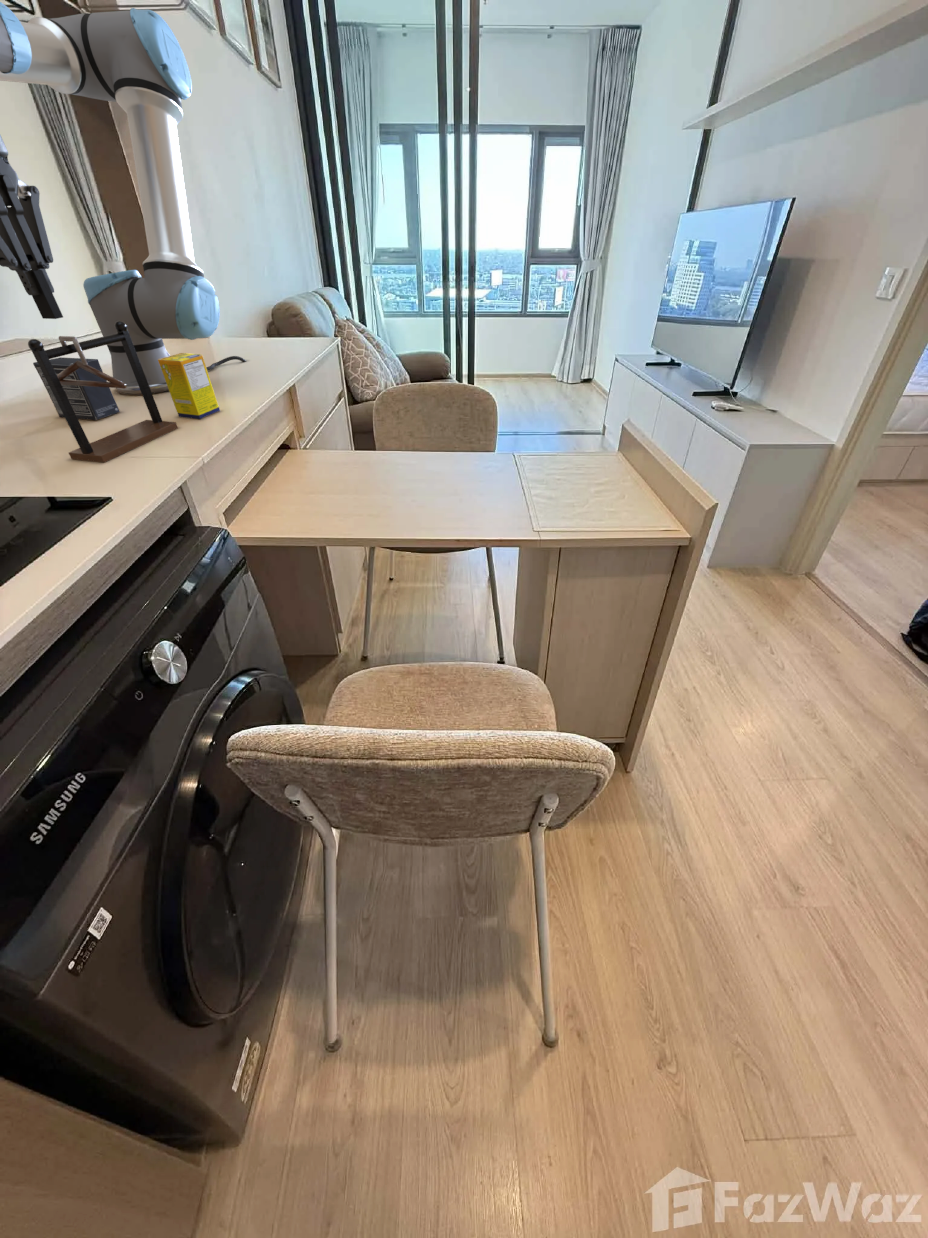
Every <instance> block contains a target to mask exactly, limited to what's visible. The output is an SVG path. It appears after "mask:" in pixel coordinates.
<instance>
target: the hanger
mask: <svg viewBox="0 0 928 1238" xmlns="http://www.w3.org/2000/svg"><path fill="white" fill-rule="evenodd" d="M58 341H59V343H60V345H61V346H66V345H68V344H67V342H72V344H74V346H75V348H76V350H77V352H76V353H77V355H78V358H80V359H81V361H82V362H81V361H76V362H74V363H73V364H72V365H70V366H69V367H68V368H66V369H65V370H63V371H62V372H61V373H59V374H58V375H57V377H58V379H59V381H60V383H61V384H63V385H78V386H94V387H109V388H110V389H111V388H112V389H116V388H123V389H125V388H126V384H125V383H123V382H121V381H119V380H117V379H115V378H113V376H112V375H110V374H108V373H107V374H106V373H105V372H104V371H103V372H101V371H99V370H97V369H95V368H93V367H91V366H89V365H88V363H87V361H86V359H87V358H86V356H85V354H84V352H83V351H82V349H81V347H80V345H79V343H78V342H79V340H78V338H77V336H73V335H72V336H71V335H70V336H68V335H59V336H58ZM79 368H82V369H84V370H86V371H88V372H90V373H92V374H94V375H96V376H98V377H100V378H102V379H104V380H106V381H107V382H98V381H82V380H65V379H64V378H66V377H67V376H69V375H70V374H71V373H73V372H74V371H76V370H77V369H79Z"/></svg>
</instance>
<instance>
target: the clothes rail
mask: <svg viewBox="0 0 928 1238" xmlns="http://www.w3.org/2000/svg"><path fill="white" fill-rule="evenodd" d="M115 328H116V330H117V332H118V333H117V334H113V335H108V336H104V337H103V336H99V337H96V338H92V339H88V340H82V341H78V343H79V345H80V347H81V349H82V352H83V351H88V350H92V349H96V348H99V347H103V346H107V345H108V344H112V343H116V342H120V341H121V342H122V345H123V347H124V350H125V352H126V355H127V357H128V360H129V362H130V365H131V368H132V370H133V373H134V375H135V378H136V380H137V383H138V385H139V388H140V390H141V393H142V398H143V401H144V402H145V406H146V408H147V411H148V413H149V416H150V418H151V419H145V420H142V421H140V422H138V423H135V424H133V425H131V426H128V427H125V428H123V429H121V430H118V431H116V432H114V433H111V434H109V435H106V436H104V437H102V438H100V439H97V440H95V441H92V442H90V441H89V439H88V437H87V435H86V433H85V430H84V428H83V427H82V424H81V422H80V419H78V418H77V416H76V414H75V412H74V410H73V408H72V406H71V404H70V402H69V400H68V397H67V395H66V393H65V391H64V389H63V387H62V385H61V383H60V381H59V379H58V377H57V375H56V373H55V371H54V368H53V366H52V364H51V362H50V359H55V358H60V357H65V356H67V355H71V354H75V353H78V352H77V350H76V348H75V346H74V343H70V344H67V345H66V346H62V345H61V346H58V347H53V348H49V349H45V347H44V345H43V343H42V341H41V340H39V339H36V338H31V339H29V340H28V342H27V346H28V348H29V350H31V352H32V355H33V356H34V359H35V362H37V363H38V365H39V367H40V369H41V371H42V373H43V375H44V377H45V379H46V381H47V383H48V385H49V387H50V389H51V391H52V393H53V395H54V397H55V399H56V401H57V403H58V405H59V407H60V409H61V411H62V413H63V415H64V417H65V421H66V423H67V425H68V427H69V429H70V431H71V433H72V435H73V437H74V439H75V441H76V443H77V445H78V447H77V448H76V449H73V450H71V451H69V452H68V455H69V457H70V459H71V460H74V461H75V460H76V461H83V462H93V463H94V462H96V463H107V462H109V461H110V460H113V459H115V458H117V457H120V456H122V455H124V454H126V453H128V452H130V451H132V450H135V449H137V448H139V447H141V446H143V445H145V444H147V443H149V442H152V441H154V440H156V439H158V438H160V437H163V436H164V435H166V434H169V433H171V432H173V431H175V430H177V429H179V427H178V424H177V422H176V421H168V420H167V421H165V420H163V418H162V416H161V413H160V411H159V408H158V405H157V403H156V400H155V398H154V394H153V393H152V392H151V390H150V387H149V384H148V382H147V379H146V377H145V374H144V371H143V369H142V366H141V363H140V361H139V358H138V356H137V353H136V350H135V348H134V345H133V343H132V340H131V337H130V335H129V332H128V330H127V326H126V324H125V323H124V322H122V321H117V322H116V323H115ZM64 417H63V418H64Z"/></svg>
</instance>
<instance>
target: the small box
mask: <svg viewBox="0 0 928 1238" xmlns="http://www.w3.org/2000/svg"><path fill="white" fill-rule="evenodd" d="M49 360H50V362H51V364H52V366H53V368H54V371H55V373H56V375H58V374H59V373H61V372H62V371H63V370H65V369H66V368H68V367H69V366H70V365H72V364H73V363H74V362H76V361H81V359H80V357H63V356H60V357H56V358H52V359H49ZM86 361H87V363H88V365H89V366H91V367H93V368H95V369H97V370H99V371H101V372H103V373H104V371H103V369H102V367H101V364H100V361H99V359H98V358H86ZM81 362H82V361H81ZM32 364H33V366H34V369H35V370H36V372H37V373H38V376H39V377H40V379H41V382H42V383H43V386H44V387H45V390H46V392H47V394H48V396H49V398H50V400H51V402H52V405H53V407H54V408H55V410H56V413H57V415H58V417H59V418H63V419H64V418H65V417H64V415H63V413H62V411H61V409H60V407H59V405H58V403H57V401H56V399H55V397H54V395H53V393H52V391H51V389H50V387H49V385H48V383H47V381H46V379H45V377H44V375H43V373H42V371H41V369H40V367H39V365H38V363H37V361H35V362H33V363H32ZM64 379H65V380H82V381H98V382H108V381H106V380H104V379H102V378H100V377H98V376H96V375H94V374H92V373H90V372H88V371H86V370H84V369H82V368H79V369H77V370H76V371H74V372H73V373H71V374H70V375H69V376H67V377H66V378H64ZM61 385H62V387H63V389H64V391H65V393H66V395H67V397H68V400H69V402H70V404H71V406H72V408H73V410H74V412H75V414H76V416H77V418H78V420H87V421H98V420H101V419H104V418H107V417H109V416H112V415H115V414H118V413H120V412H121V411H120V409H119V406H118V404H117V402H116V400H115V398H114V394H113V393H112V390H111V388H110V387H94V386H78V385H63V384H61Z"/></svg>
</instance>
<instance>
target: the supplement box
mask: <svg viewBox="0 0 928 1238" xmlns="http://www.w3.org/2000/svg"><path fill="white" fill-rule="evenodd" d="M158 361H159V364H160V367H161V370H162V372H163V375H164V378H165V381H166V383H167V386H168V389H169V391H168V392H169V394H170V397H171V400H172V401H173V405H174V407H175V411H176V413H177V416H178V418H185V419H195V420H202V419H204V418H206V417H208V416H210V415H213V414H216V413H218V412H220V411H221V409H220V407H219V403H218V400H217V397H216V394H215V390H214V388H213V385H212V382H211V378H210V374H209V371H207V368H206V367H207V366H206V365H207V364H206V362H205V359H204V356H203V355H202V354H201V353H189V352H188V353H187V352H179V353H176V354H172V355H170V356H168V357H165V358H161V359H158Z"/></svg>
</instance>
